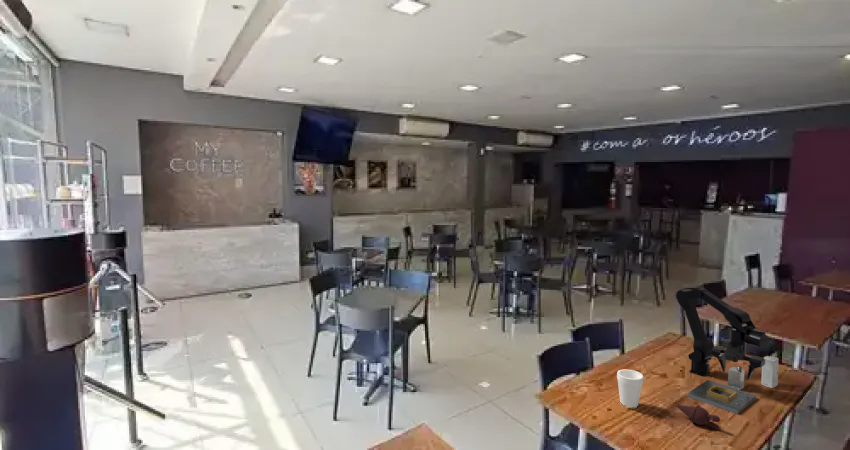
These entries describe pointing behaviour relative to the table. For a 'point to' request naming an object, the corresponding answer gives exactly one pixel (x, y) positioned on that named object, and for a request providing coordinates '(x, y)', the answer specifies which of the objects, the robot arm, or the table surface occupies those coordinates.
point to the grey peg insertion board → (722, 396)
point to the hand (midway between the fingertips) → (736, 375)
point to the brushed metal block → (736, 377)
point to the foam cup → (629, 387)
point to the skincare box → (770, 372)
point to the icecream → (700, 416)
